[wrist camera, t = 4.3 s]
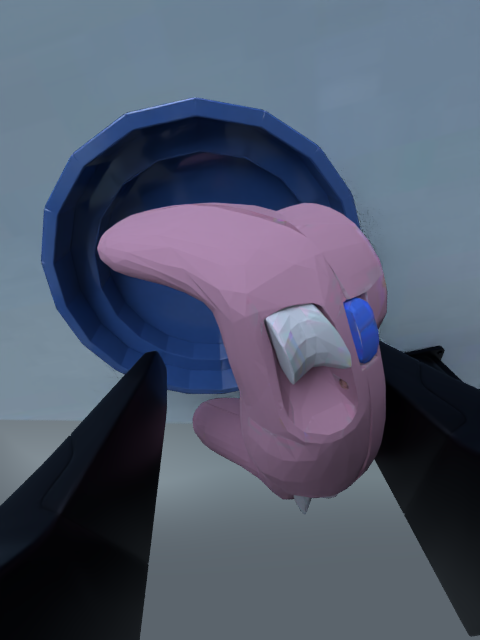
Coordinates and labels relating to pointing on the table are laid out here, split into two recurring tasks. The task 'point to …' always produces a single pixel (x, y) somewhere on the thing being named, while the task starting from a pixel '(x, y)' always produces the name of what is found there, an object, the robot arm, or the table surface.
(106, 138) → the bowl
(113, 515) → the robot arm
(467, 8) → the table surface
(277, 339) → the video game controller
